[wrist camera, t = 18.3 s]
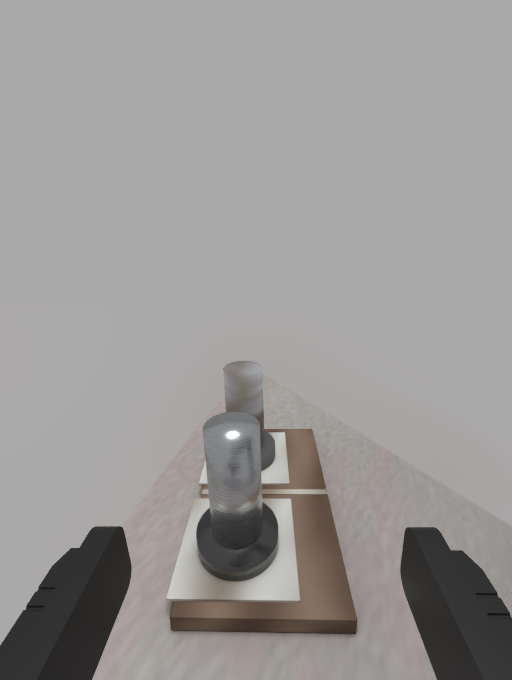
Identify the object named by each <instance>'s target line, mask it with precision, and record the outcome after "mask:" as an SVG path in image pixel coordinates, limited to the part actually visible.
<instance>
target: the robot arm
mask: <svg viewBox="0 0 512 680" xmlns="http://www.w3.org/2000/svg"><path fill="white" fill-rule="evenodd" d="M130 578H131V561H130V557H129V552H128V547H127V543H126V538H125V534H124V530H123V528H122V527H94V528H92V529H91V530H90V532H89V533H88V535H87V537H86V538H85V540H84V542H83V543H82V545H81V546H80V548H71V549H70V550H69V551H68V552H67V553H66V554H65V555H63V556H62V557H61V558H60V559H59V560H58V561H57V562H56V563H55V564H54V565H53V566H52V567H51V569H50V570H49V572H48V574H47V575H46V577H45V578H44V580H43V581H42V583H41V584H40V586H39V589H38V591H37V592H35V593H34V595H33V596H32V598H31V600H30V601H29V603H28V604H27V608H26V610H23V612H22V613H21V615H20V616H19V618H18V620H17V621H16V623H15V624H14V626H13V627H12V629H11V630H10V632H9V633H8V635H7V636H6V638H5V640H4V641H3V642H2V644H1V645H0V680H92V678H93V676H94V673H95V671H96V668H97V666H98V663H99V661H100V658H101V656H102V653H103V650H104V648H105V645H106V643H107V640H108V638H109V635H110V633H111V630H112V628H113V625H114V623H115V620H116V618H117V615H118V613H119V610H120V608H121V605H122V603H123V600H124V598H125V595H126V593H127V590H128V587H129V583H130ZM401 579H402V585H403V589H404V592H405V595H406V598H407V601H408V603H409V606H410V609H411V611H412V614H413V617H414V619H415V622H416V624H417V627H418V630H419V632H420V635H421V638H422V640H423V643H424V646H425V648H426V651H427V654H428V656H429V659H430V662H431V664H432V667H433V670H434V672H435V675H436V678H437V680H512V618H511V616H510V613H509V611H508V609H507V608H506V606H505V605H504V603H503V601H502V600H501V598H499V597H498V595H497V592H496V590H495V589H494V587H493V586H492V584H491V582H490V581H489V579H488V578H487V576H486V575H485V573H484V571H483V570H482V569H481V568H480V567H479V566H478V565H477V564H476V563H475V562H474V561H473V560H472V559H471V558H469V557H468V556H467V555H466V554H465V553H464V552H463V551H451V550H450V548H449V546H448V545H447V543H446V541H445V539H444V538H443V536H442V534H441V533H440V531H439V530H438V529H437V528H434V527H408V528H406V530H405V535H404V543H403V551H402V559H401Z"/></svg>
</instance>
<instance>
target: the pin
mask: <svg viewBox="0 0 512 680" xmlns="http://www.w3.org/2000/svg"><path fill="white" fill-rule="evenodd" d="M203 435H204V447H205V458H206V470H207V481H208V493H209V504H210V508H209V509H207V510H206V511H205V513H204V514H203V515H202V517H201V518H200V520H199V522H198V525H197V530H196V538H197V548H198V556H199V559H200V561H201V563H202V565H203V567H204V568H205V569H206V570H207V571H208V572H209V573H210V574H212V575H213V576H215V577H217V578H219V579H222V580H225V581H232V582H238V581H245V580H249V579H252V578H254V577H256V576H258V575H260V574H261V573H263V572H264V571H265V570H266V569H267V568H268V567H269V566H270V565H271V564H272V562H273V561H274V559H275V557H276V554H277V551H278V522H277V518H276V516H275V514H274V513H273V511H272V510H271V509H270V508H269V507H268V506H267V505H266V504H264V503H263V502H262V480H261V446H260V423H259V421H258V419H257V418H255V417H254V416H252V415H250V414H247V413H243V412H227V413H222V414H218V415H216V416H214V417H212V418H210V419H209V420H208V421H207V422H206V423H205V424H204V426H203Z"/></svg>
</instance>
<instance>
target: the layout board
mask: <svg viewBox="0 0 512 680" xmlns="http://www.w3.org/2000/svg"><path fill="white" fill-rule="evenodd" d="M224 384H225V402H226V413H227V412H243V413H247V414H250V415H252V416H254V417H255V418H257V419H258V421H259V423H260V446H261V480H262V502H263V503H264V504H266V505H267V506H268V507H269V508H270V509H271V510H272V511H273V513H274V514H275V516H276V518H277V522H278V551H277V554H276V557H275V559H274V561H273V562H272V564H271V565H270V566H269V567H268V568H267V569H266V570H265V571H264V572H263V573H261V574H260V575H258V576H256V577H254V578H252V579H249V580H245V581H238V582H232V581H225V580H222V579H219V578H217V577H215V576H213V575H212V574H210V573H209V572H208V571H207V570H206V569H205V568H204V567H203V565H202V563H201V561H200V559H199V556H198V548H197V538H196V530H197V525H198V522H199V520H200V518H201V517H202V515H203V514H204V513H205V511H206V510H207V509H209V508H210V504H209V493H208V481H207V470H206V460H205V464H204V467H203V471H202V474H201V478H200V481H199V485H204V487H203V490H202V495H201V498H195V499H194V503H193V506H192V510H191V513H190V517H189V520H188V524H187V527H186V531H185V534H184V538H183V541H182V545H181V548H180V552H179V556H178V559H177V563H176V566H175V570H174V573H173V577H172V580H171V584H170V587H169V591H168V594H167V598H166V600H167V601H174V602H173V606H172V610H171V614H170V623H171V630H187V631H242V632H296V633H351V634H356V628H357V618H356V613H355V609H354V605H353V601H352V596H351V592H350V588H349V584H348V579H347V575H346V571H345V567H344V562H343V558H342V554H341V550H340V545H339V541H338V537H337V533H336V528H335V524H334V520H333V516H332V512H331V507H330V503H329V499H328V494H327V489H326V486H325V482H324V478H323V473H322V469H321V465H320V461H319V456H318V452H317V448H316V444H315V439H314V435H313V431H312V429H264V413H263V374H262V365H260V364H259V363H257V362H252V361H237V362H233V363H230V364H227V365H226V366H225V367H224Z"/></svg>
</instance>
